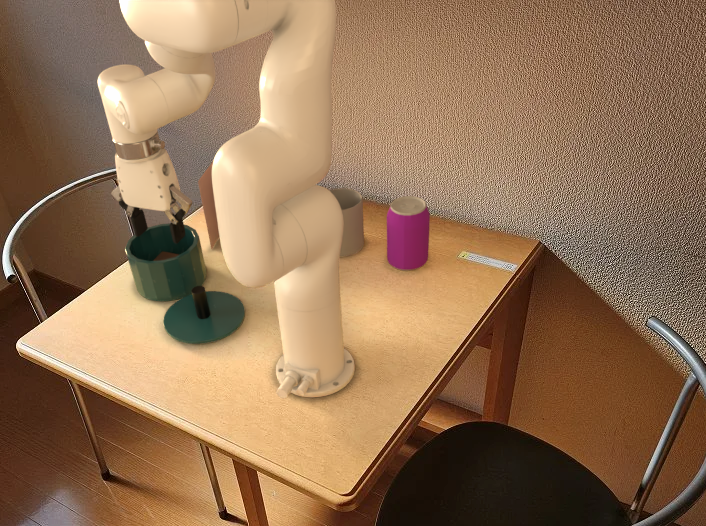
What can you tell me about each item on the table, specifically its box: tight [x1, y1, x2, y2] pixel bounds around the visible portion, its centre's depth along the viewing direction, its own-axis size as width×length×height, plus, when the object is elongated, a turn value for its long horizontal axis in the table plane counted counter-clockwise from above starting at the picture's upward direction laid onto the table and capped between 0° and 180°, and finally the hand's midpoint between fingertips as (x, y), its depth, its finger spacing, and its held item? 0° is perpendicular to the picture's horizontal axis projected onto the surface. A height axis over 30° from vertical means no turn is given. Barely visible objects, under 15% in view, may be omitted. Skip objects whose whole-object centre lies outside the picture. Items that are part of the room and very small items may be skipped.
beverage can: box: [386, 195, 431, 272], centre depth 134 cm, size 8×8×12 cm
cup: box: [328, 187, 365, 257], centre depth 141 cm, size 8×8×10 cm
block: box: [153, 251, 179, 261], centre depth 140 cm, size 4×4×4 cm
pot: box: [124, 222, 207, 302], centre depth 139 cm, size 14×14×8 cm
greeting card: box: [197, 159, 220, 251], centre depth 146 cm, size 11×7×15 cm, turn 164°
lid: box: [162, 285, 246, 345], centre depth 129 cm, size 15×15×7 cm
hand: (160, 235), depth 135 cm, fingers open, 7 cm apart
